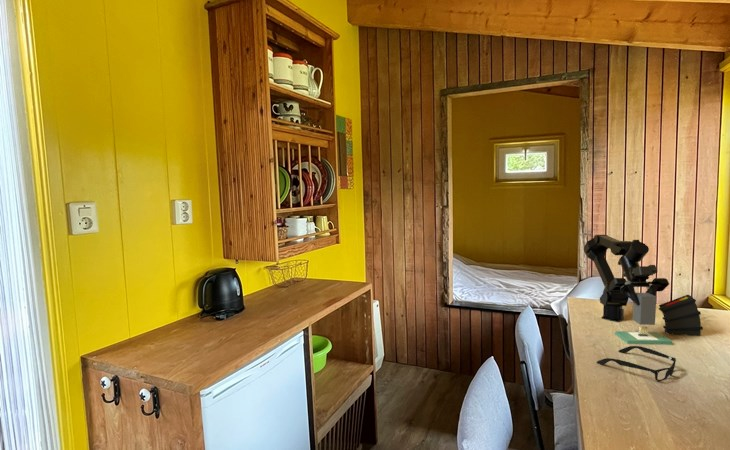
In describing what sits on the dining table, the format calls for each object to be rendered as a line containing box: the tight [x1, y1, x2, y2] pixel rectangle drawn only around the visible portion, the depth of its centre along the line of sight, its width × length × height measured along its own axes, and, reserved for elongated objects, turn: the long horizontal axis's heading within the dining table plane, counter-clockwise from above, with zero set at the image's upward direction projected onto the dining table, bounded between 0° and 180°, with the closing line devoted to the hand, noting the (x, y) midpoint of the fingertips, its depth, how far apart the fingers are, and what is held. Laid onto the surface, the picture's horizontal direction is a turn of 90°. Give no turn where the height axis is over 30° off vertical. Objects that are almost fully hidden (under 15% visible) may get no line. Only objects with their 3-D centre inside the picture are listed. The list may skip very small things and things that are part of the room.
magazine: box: [658, 294, 704, 337], centre depth 151 cm, size 4×13×15 cm, turn 78°
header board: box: [614, 325, 674, 346], centre depth 148 cm, size 9×15×5 cm, turn 83°
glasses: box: [596, 345, 677, 382], centre depth 127 cm, size 17×18×5 cm
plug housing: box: [632, 292, 657, 326], centre depth 147 cm, size 5×5×10 cm
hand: (646, 304), depth 145 cm, fingers closed on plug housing, 5 cm apart
